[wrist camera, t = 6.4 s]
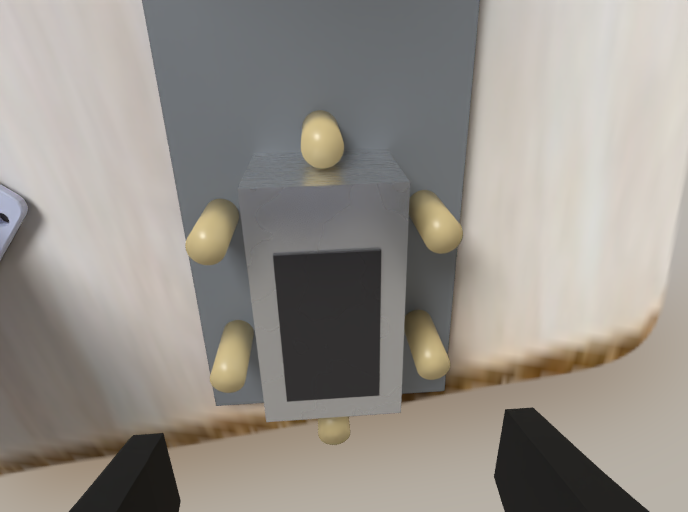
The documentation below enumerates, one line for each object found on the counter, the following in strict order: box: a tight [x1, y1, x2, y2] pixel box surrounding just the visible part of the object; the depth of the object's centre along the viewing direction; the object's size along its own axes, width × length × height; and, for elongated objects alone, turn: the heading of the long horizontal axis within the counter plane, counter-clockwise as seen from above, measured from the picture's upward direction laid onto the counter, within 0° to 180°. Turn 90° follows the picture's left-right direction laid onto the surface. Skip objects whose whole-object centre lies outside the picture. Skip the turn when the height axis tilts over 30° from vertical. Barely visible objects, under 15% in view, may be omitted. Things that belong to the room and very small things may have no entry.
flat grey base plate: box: [142, 0, 480, 445], centre depth 15 cm, size 21×10×4 cm, turn 1°
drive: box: [237, 149, 410, 422], centre depth 16 cm, size 8×4×4 cm, turn 1°
